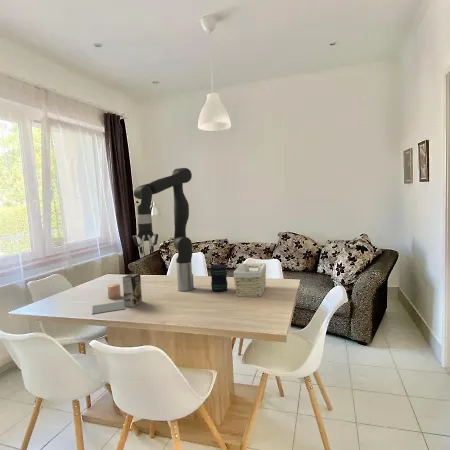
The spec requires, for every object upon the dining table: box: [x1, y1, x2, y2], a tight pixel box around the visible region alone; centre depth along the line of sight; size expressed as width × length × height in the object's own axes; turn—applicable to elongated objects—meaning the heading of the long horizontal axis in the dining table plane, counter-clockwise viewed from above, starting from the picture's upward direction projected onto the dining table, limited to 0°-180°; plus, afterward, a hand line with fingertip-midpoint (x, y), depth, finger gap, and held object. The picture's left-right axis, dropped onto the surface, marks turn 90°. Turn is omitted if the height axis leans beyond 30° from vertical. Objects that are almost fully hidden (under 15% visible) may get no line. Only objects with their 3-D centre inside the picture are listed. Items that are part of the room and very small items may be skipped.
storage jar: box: [210, 264, 228, 293], centre depth 199 cm, size 10×10×15 cm
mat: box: [91, 300, 126, 315], centre depth 175 cm, size 16×14×1 cm
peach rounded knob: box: [106, 283, 122, 300], centre depth 195 cm, size 7×7×7 cm
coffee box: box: [122, 273, 143, 308], centre depth 179 cm, size 9×6×16 cm
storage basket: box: [233, 262, 267, 298], centre depth 193 cm, size 24×16×15 cm
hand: (146, 253), depth 181 cm, fingers open, 5 cm apart
